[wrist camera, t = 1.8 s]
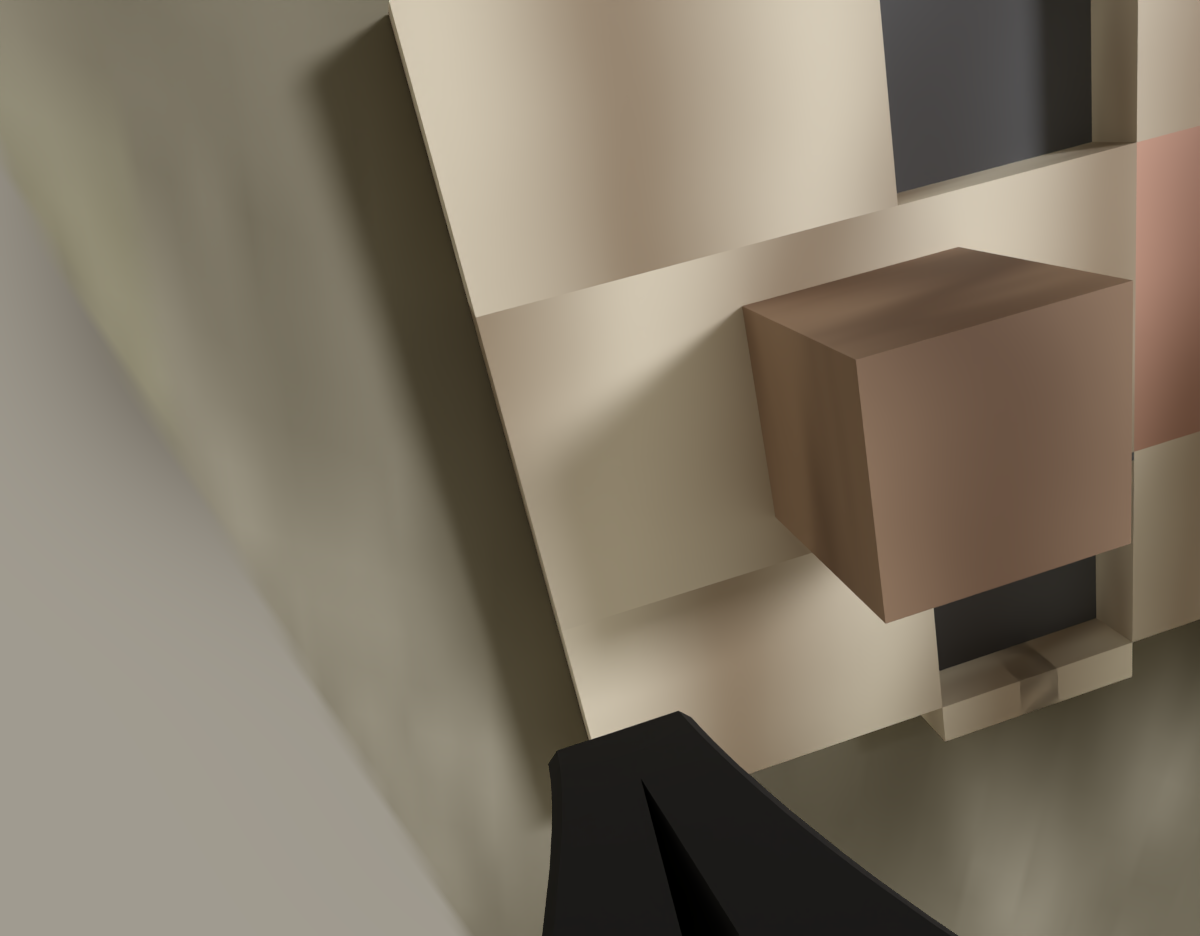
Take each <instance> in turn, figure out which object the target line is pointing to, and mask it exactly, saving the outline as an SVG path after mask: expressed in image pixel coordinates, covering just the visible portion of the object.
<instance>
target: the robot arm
mask: <svg viewBox="0 0 1200 936" xmlns="http://www.w3.org/2000/svg"><path fill="white" fill-rule="evenodd" d="M548 765H549V772H550V778H551V790H552V837H551V855H550V871H549V880H548V889H547V898H546V906H545V915H544V924H543V933H542V936H958V935H956V934H955V933H953V932H952V931H950V930H949V929H948V928H946V927H945V926H943V925H942V924H940V923H939V922H937V921H936V920H934V919H933V918H931V917H930V916H928V915H927V914H926V913H924V912H923V911H921V910H920V909H919V908H917V907H916V906H914V905H913V904H912V903H910V902H909V901H907V900H906V899H905V898H903V897H902V896H900V895H899V894H898V893H896V892H895V891H893V890H892V889H891V888H889V887H888V886H886V885H885V884H884V883H882V882H881V881H880V880H878V879H877V878H876V877H874V876H873V875H872V874H870V873H869V872H868V871H866V870H865V869H864V868H862V867H861V866H860V865H858V864H857V863H856V862H854V861H853V860H852V859H850V858H849V857H848V856H846V855H845V854H844V853H843V852H841V851H840V850H839V849H838V848H836V847H835V846H834V845H833V844H831V843H830V842H829V841H828V840H826V839H825V838H824V837H823V836H822V835H820V834H819V833H818V832H817V831H815V830H814V829H813V828H812V827H810V826H809V825H808V824H807V823H805V822H804V821H803V820H802V819H800V818H799V817H798V816H797V815H795V814H794V813H793V812H792V811H791V810H789V809H788V808H787V807H786V806H785V805H783V804H782V803H781V802H780V801H779V800H778V799H776V798H775V797H774V796H773V795H772V794H771V793H769V792H768V791H767V790H766V789H765V788H764V787H763V786H762V785H760V784H759V783H758V782H757V781H756V780H755V779H754V778H753V777H752V776H750V775H749V774H748V773H747V772H746V771H745V770H744V769H743V768H742V767H740V766H739V765H738V764H737V763H736V762H735V761H734V760H733V759H732V758H731V757H730V756H729V755H728V754H727V753H726V752H725V751H724V750H723V749H722V748H721V747H720V746H718V745H717V744H716V743H715V742H714V741H713V740H712V739H711V737H710V736H709V735H708V734H707V733H706V732H705V731H704V730H703V729H702V728H701V727H700V726H699V725H698V724H697V723H696V722H695V721H694V720H693V718H692V717H690V716H688V715H686V714H684V713H682V712H680V711H676V712H673V713H670V714H667V715H664V716H661V717H658V718H655V719H652V720H649V721H646V722H643V723H640V724H637V725H634V726H630V727H627V728H624V729H621V730H618V731H615V732H612V733H609V734H606V735H603V736H600V737H597V738H594V739H591V740H588V741H585V742H582V743H579V744H576V745H573V746H570V747H567V748H564V749H561V750H558V751H557V752H556V753H555V755H554V756H553V758H552V759H551V761H550V762H549V764H548Z"/></svg>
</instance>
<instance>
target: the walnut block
mask: <svg viewBox="0 0 1200 936" xmlns="http://www.w3.org/2000/svg"><path fill="white" fill-rule="evenodd" d="M742 310H743V316H744V322H745V329H746V335H747V341H748V347H749V354H750V360H751V366H752V373H753V379H754V385H755V391H756V398H757V404H758V410H759V417H760V423H761V429H762V435H763V442H764V448H765V454H766V461H767V467H768V473H769V479H770V486H771V492H772V498H773V505H774V511H775V517H776V518H777V519H778V520H779V521H780V522H781V523H782V524H783V525H784V526H785V527H786V528H787V529H788V530H789V531H790V532H791V533H792V534H793V535H794V536H795V537H797V538H798V539H799V540H800V541H801V542H802V543H803V544H804V545H805V546H806V547H807V548H808V549H809V550H810V551H811V552H812V553H813V554H814V555H815V556H816V557H817V558H818V559H819V560H820V561H821V562H822V563H823V564H824V565H825V566H826V567H827V568H829V569H830V570H831V571H832V572H833V573H834V574H835V575H836V576H837V577H838V578H839V579H840V580H841V581H842V582H843V583H844V584H845V585H846V586H847V587H848V588H849V589H850V590H851V591H852V592H853V593H854V594H855V595H856V596H857V597H858V598H859V599H861V600H862V601H863V602H864V603H865V604H866V605H867V606H868V607H869V608H870V609H871V610H872V611H873V612H874V613H875V614H876V615H877V616H878V617H879V618H880V619H881V620H882V621H883V622H884V623H885V624H887V623H890V622H893V621H896V620H899V619H902V618H905V617H908V616H911V615H914V614H917V613H920V612H923V611H926V610H929V609H932V608H935V607H939V606H942V605H945V604H948V603H951V602H954V601H957V600H960V599H963V598H966V597H969V596H972V595H975V594H978V593H981V592H984V591H987V590H990V589H993V588H997V587H1000V586H1003V585H1006V584H1009V583H1012V582H1015V581H1018V580H1021V579H1024V578H1027V577H1030V576H1033V575H1036V574H1039V573H1042V572H1045V571H1048V570H1051V569H1055V568H1058V567H1061V566H1064V565H1067V564H1070V563H1073V562H1076V561H1079V560H1082V559H1085V558H1088V557H1091V556H1094V555H1097V554H1100V553H1103V552H1106V551H1109V550H1113V549H1116V548H1119V547H1122V546H1125V545H1128V544H1131V483H1132V355H1133V280H1129V279H1123V278H1118V277H1113V276H1108V275H1102V274H1097V273H1092V272H1087V271H1082V270H1076V269H1071V268H1066V267H1061V266H1056V265H1050V264H1045V263H1040V262H1035V261H1029V260H1024V259H1019V258H1014V257H1009V256H1003V255H998V254H993V253H988V252H983V251H977V250H972V249H967V248H962V247H956V248H952V249H949V250H945V251H941V252H938V253H934V254H930V255H927V256H923V257H919V258H916V259H912V260H908V261H905V262H901V263H897V264H894V265H890V266H887V267H883V268H879V269H876V270H872V271H868V272H865V273H861V274H857V275H854V276H850V277H846V278H843V279H839V280H835V281H832V282H828V283H824V284H821V285H817V286H813V287H810V288H806V289H802V290H799V291H795V292H791V293H788V294H784V295H781V296H777V297H773V298H770V299H766V300H762V301H759V302H755V303H751V304H748V305H744V306H742Z"/></svg>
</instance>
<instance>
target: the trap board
mask: <svg viewBox="0 0 1200 936" xmlns="http://www.w3.org/2000/svg"><path fill="white" fill-rule="evenodd" d="M388 13H389V17H390V21H391V24H392V28H393V32H394V35H395V39H396V42H397V46H398V50H399V53H400V57H401V61H402V64H403V68H404V71H405V75H406V79H407V82H408V86H409V90H410V93H411V97H412V100H413V104H414V108H415V111H416V115H417V119H418V122H419V126H420V129H421V133H422V137H423V140H424V144H425V148H426V151H427V155H428V159H429V162H430V166H431V169H432V173H433V177H434V180H435V184H436V188H437V191H438V195H439V198H440V202H441V206H442V209H443V213H444V217H445V220H446V224H447V227H448V231H449V235H450V238H451V242H452V246H453V249H454V253H455V257H456V260H457V264H458V267H459V271H460V275H461V278H462V282H463V286H464V289H465V293H466V296H467V300H468V304H469V307H470V311H471V315H472V318H473V322H474V325H475V329H476V333H477V336H478V340H479V344H480V347H481V351H482V354H483V358H484V362H485V365H486V369H487V373H488V376H489V380H490V384H491V387H492V391H493V394H494V398H495V402H496V405H497V409H498V413H499V416H500V420H501V423H502V427H503V431H504V434H505V438H506V442H507V445H508V449H509V452H510V456H511V460H512V463H513V467H514V471H515V474H516V478H517V481H518V485H519V489H520V492H521V496H522V500H523V503H524V507H525V511H526V514H527V518H528V521H529V525H530V529H531V532H532V536H533V540H534V543H535V547H536V550H537V554H538V558H539V561H540V565H541V569H542V572H543V576H544V579H545V583H546V587H547V590H548V594H549V598H550V601H551V605H552V608H553V612H554V616H555V619H556V623H557V627H558V630H559V634H560V638H561V641H562V645H563V648H564V652H565V656H566V659H567V663H568V667H569V670H570V674H571V677H572V681H573V685H574V688H575V692H576V696H577V699H578V703H579V706H580V710H581V714H582V717H583V721H584V725H585V728H586V732H587V736H588V739H589V740H591V739H594V738H597V737H600V736H603V735H606V734H609V733H612V732H615V731H618V730H621V729H624V728H627V727H630V726H634V725H637V724H640V723H643V722H646V721H649V720H652V719H655V718H658V717H661V716H664V715H667V714H670V713H673V712H676V711H680V712H682V713H684V714H686V715H688V716H690V717H692V718H693V720H694V721H695V722H696V723H697V724H698V725H699V726H700V727H701V728H702V729H703V730H704V731H705V732H706V733H707V734H708V735H709V736H710V737H711V739H712V740H713V741H714V742H715V743H716V744H717V745H718V746H720V747H721V748H722V749H723V750H724V751H725V752H726V753H727V754H728V755H729V756H730V757H731V758H732V759H733V760H734V761H735V762H736V763H737V764H738V765H739V766H740V767H742V768H743V769H744V770H745V771H746V772H747V773H748V774H751V773H753V772H756V771H759V770H762V769H765V768H768V767H771V766H774V765H777V764H780V763H783V762H786V761H788V760H791V759H794V758H797V757H800V756H803V755H806V754H809V753H812V752H815V751H818V750H820V749H823V748H826V747H829V746H832V745H835V744H838V743H841V742H844V741H847V740H850V739H853V738H855V737H858V736H861V735H864V734H867V733H870V732H873V731H876V730H879V729H882V728H885V727H888V726H890V725H893V724H896V723H899V722H902V721H905V720H908V719H911V718H914V717H917V716H920V715H921V716H922V717H923V718H924V719H925V720H926V721H927V722H928V724H929V725H930V726H931V727H932V728H933V729H934V730H935V731H936V732H937V733H938V734H939V735H940V736H941V737H942V739H943V740H944V741H945V742H946V741H949V740H952V739H955V738H958V737H960V736H963V735H966V734H969V733H972V732H975V731H978V730H981V729H983V728H986V727H989V726H992V725H995V724H998V723H1001V722H1003V721H1006V720H1009V719H1012V718H1015V717H1018V716H1021V715H1024V714H1026V713H1029V712H1032V711H1035V710H1038V709H1041V708H1044V707H1047V706H1049V705H1052V704H1055V703H1058V702H1061V701H1064V700H1067V699H1069V698H1072V697H1075V696H1078V695H1081V694H1084V693H1087V692H1090V691H1092V690H1095V689H1098V688H1101V687H1104V686H1107V685H1110V684H1113V683H1115V682H1118V681H1121V680H1124V679H1127V678H1130V677H1132V642H1135V641H1138V640H1141V639H1144V638H1147V637H1150V636H1153V635H1156V634H1158V633H1161V632H1164V631H1167V630H1170V629H1173V628H1176V627H1179V626H1182V625H1185V624H1188V623H1191V622H1193V621H1196V620H1199V619H1200V0H390V1H389V10H388ZM956 247H962V248H967V249H972V250H977V251H983V252H988V253H993V254H998V255H1003V256H1009V257H1014V258H1019V259H1024V260H1029V261H1035V262H1040V263H1045V264H1050V265H1056V266H1061V267H1066V268H1071V269H1076V270H1082V271H1087V272H1092V273H1097V274H1102V275H1108V276H1113V277H1118V278H1123V279H1129V280H1133V355H1132V483H1131V544H1128V545H1125V546H1122V547H1119V548H1116V549H1113V550H1109V551H1106V552H1103V553H1100V554H1097V555H1094V556H1091V557H1088V558H1085V559H1082V560H1079V561H1076V562H1073V563H1070V564H1067V565H1064V566H1061V567H1058V568H1055V569H1051V570H1048V571H1045V572H1042V573H1039V574H1036V575H1033V576H1030V577H1027V578H1024V579H1021V580H1018V581H1015V582H1012V583H1009V584H1006V585H1003V586H1000V587H997V588H993V589H990V590H987V591H984V592H981V593H978V594H975V595H972V596H969V597H966V598H963V599H960V600H957V601H954V602H951V603H948V604H945V605H942V606H939V607H935V608H932V609H929V610H926V611H923V612H920V613H917V614H914V615H911V616H908V617H905V618H902V619H899V620H896V621H893V622H890V623H887V624H885V623H884V622H883V621H882V620H881V619H880V618H879V617H878V616H877V615H876V614H875V613H874V612H873V611H872V610H871V609H870V608H869V607H868V606H867V605H866V604H865V603H864V602H863V601H862V600H861V599H859V598H858V597H857V596H856V595H855V594H854V593H853V592H852V591H851V590H850V589H849V588H848V587H847V586H846V585H845V584H844V583H843V582H842V581H841V580H840V579H839V578H838V577H837V576H836V575H835V574H834V573H833V572H832V571H831V570H830V569H829V568H827V567H826V566H825V565H824V564H823V563H822V562H821V561H820V560H819V559H818V558H817V557H816V556H815V555H814V554H813V553H812V552H811V551H810V550H809V549H808V548H807V547H806V546H805V545H804V544H803V543H802V542H801V541H800V540H799V539H798V538H797V537H795V536H794V535H793V534H792V533H791V532H790V531H789V530H788V529H787V528H786V527H785V526H784V525H783V524H782V523H781V522H780V521H779V520H778V519H777V518H776V517H775V511H774V505H773V498H772V492H771V486H770V479H769V473H768V467H767V461H766V454H765V448H764V442H763V435H762V429H761V423H760V417H759V410H758V404H757V398H756V391H755V385H754V379H753V373H752V366H751V360H750V354H749V347H748V341H747V335H746V329H745V322H744V316H743V310H742V306H744V305H748V304H751V303H755V302H759V301H762V300H766V299H770V298H773V297H777V296H781V295H784V294H788V293H791V292H795V291H799V290H802V289H806V288H810V287H813V286H817V285H821V284H824V283H828V282H832V281H835V280H839V279H843V278H846V277H850V276H854V275H857V274H861V273H865V272H868V271H872V270H876V269H879V268H883V267H887V266H890V265H894V264H897V263H901V262H905V261H908V260H912V259H916V258H919V257H923V256H927V255H930V254H934V253H938V252H941V251H945V250H949V249H952V248H956Z"/></svg>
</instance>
